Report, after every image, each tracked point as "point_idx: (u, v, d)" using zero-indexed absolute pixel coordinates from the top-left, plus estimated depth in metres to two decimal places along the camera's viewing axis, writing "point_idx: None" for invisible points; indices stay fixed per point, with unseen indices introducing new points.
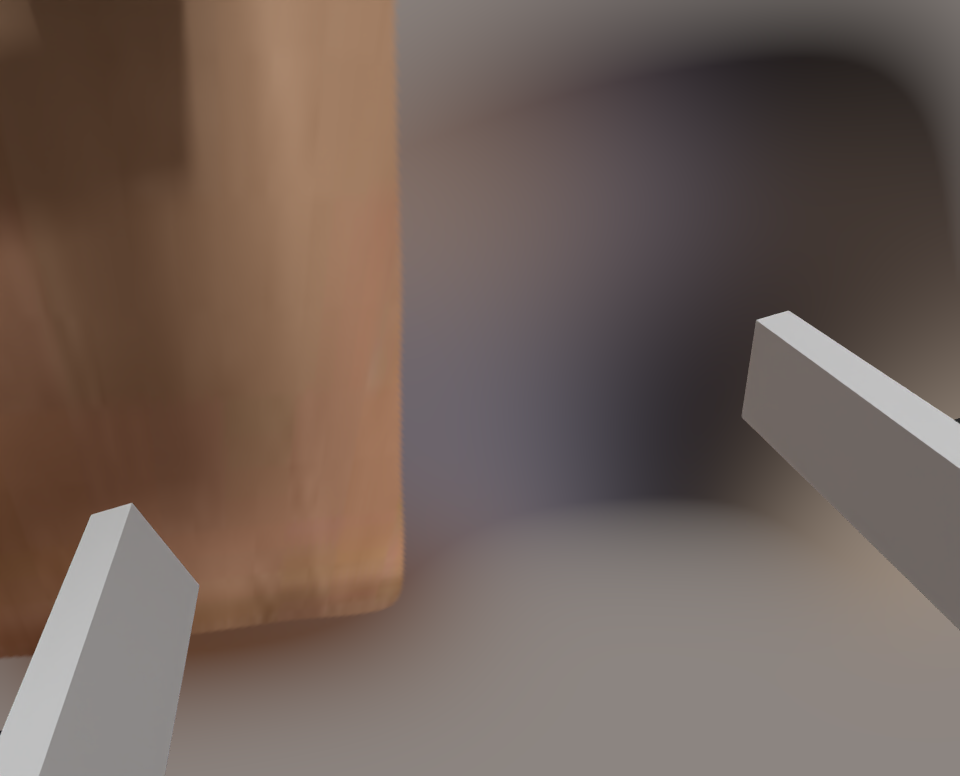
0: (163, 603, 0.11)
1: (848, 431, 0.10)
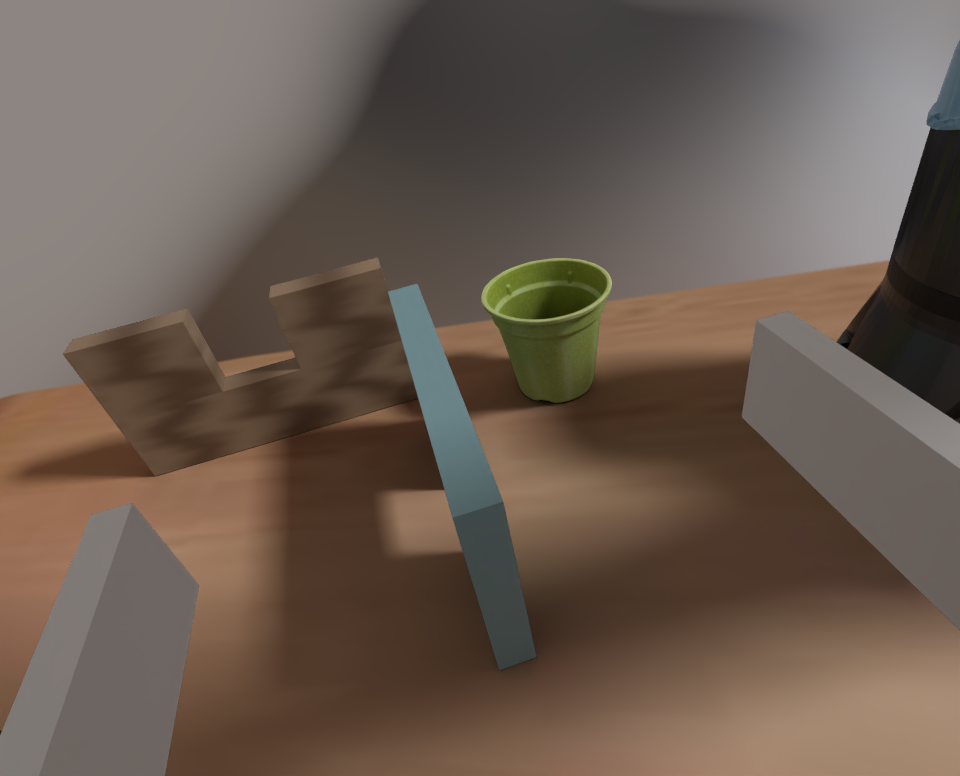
0: (163, 603, 0.11)
1: (849, 431, 0.10)
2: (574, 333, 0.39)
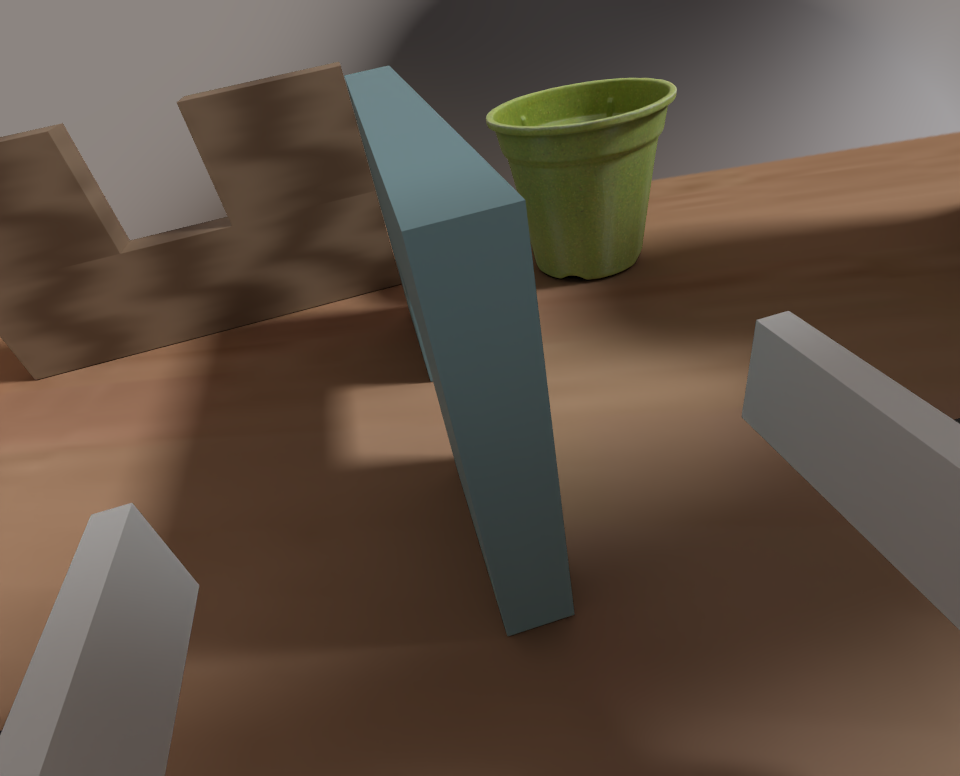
0: (163, 603, 0.11)
1: (849, 431, 0.10)
2: (622, 156, 0.27)
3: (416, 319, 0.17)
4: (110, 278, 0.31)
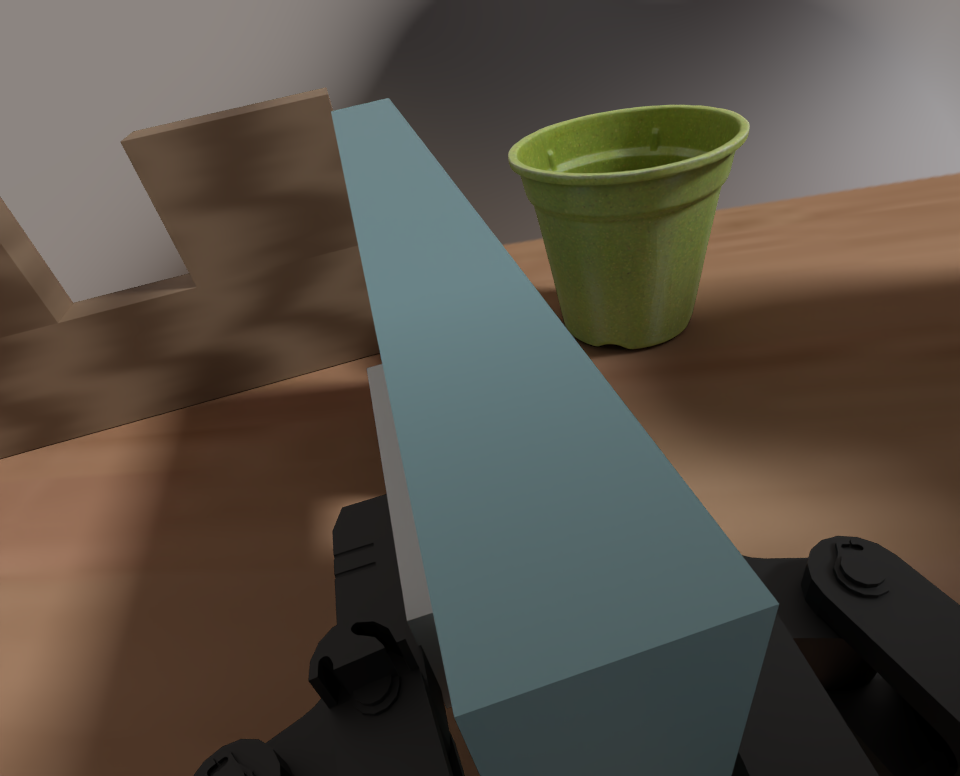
0: None
1: None
2: (682, 209, 0.21)
3: None
4: (47, 351, 0.25)
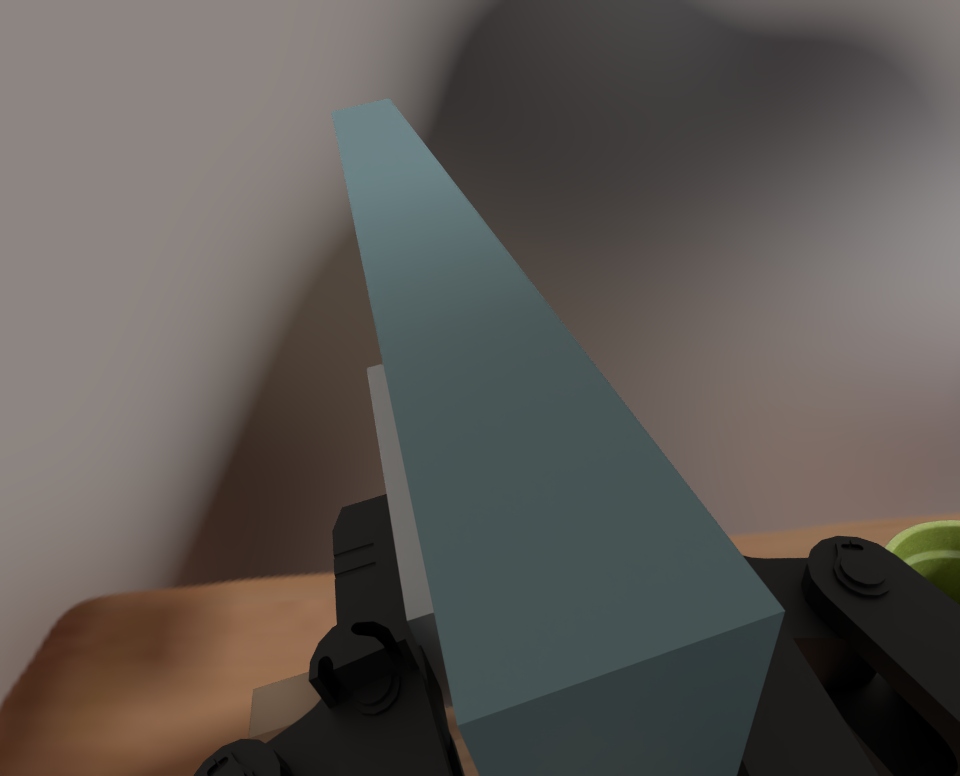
0: None
1: None
2: None
3: None
4: None
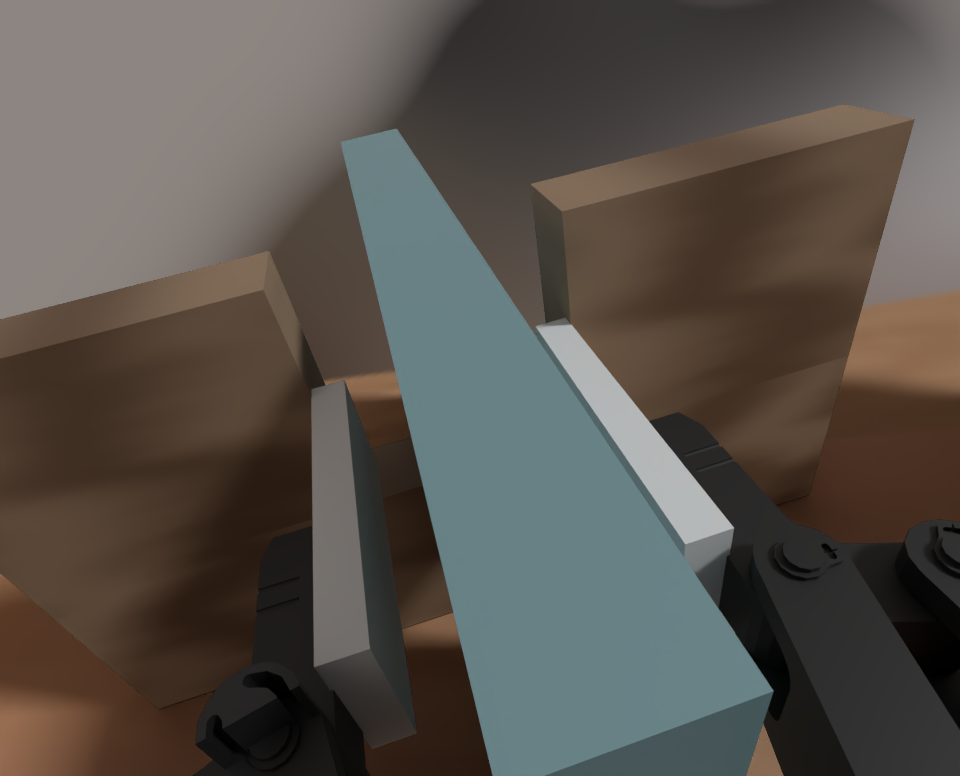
0: (369, 464, 0.13)
1: None
2: None
3: None
4: None
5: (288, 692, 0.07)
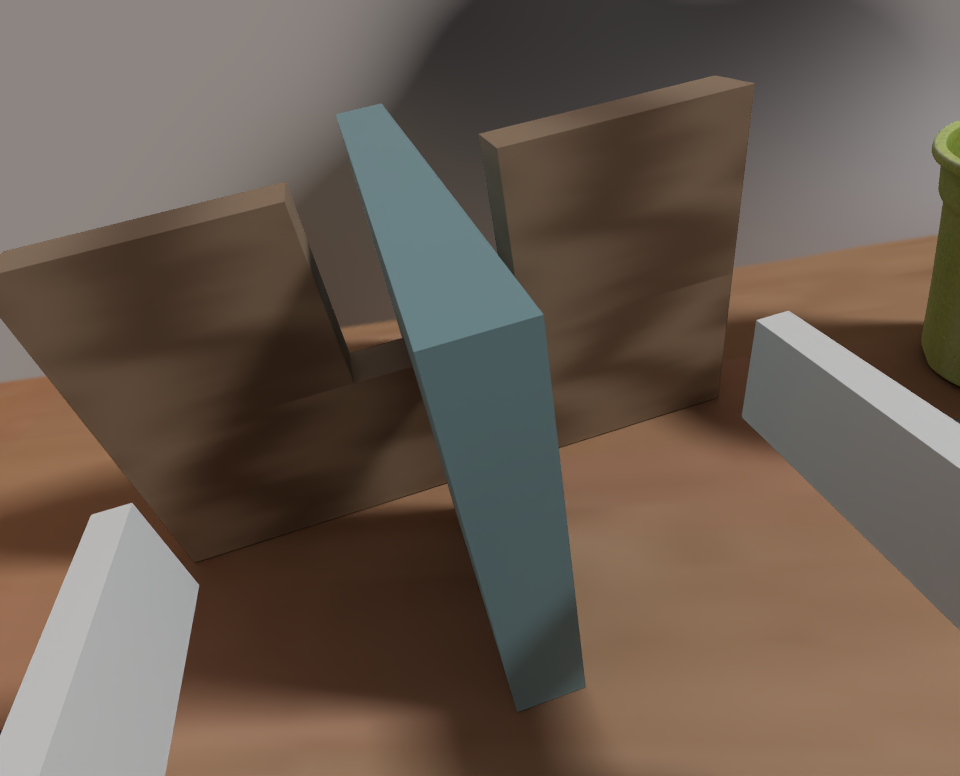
0: (163, 603, 0.11)
1: (849, 431, 0.10)
2: None
3: (417, 381, 0.17)
4: (331, 419, 0.19)
5: None
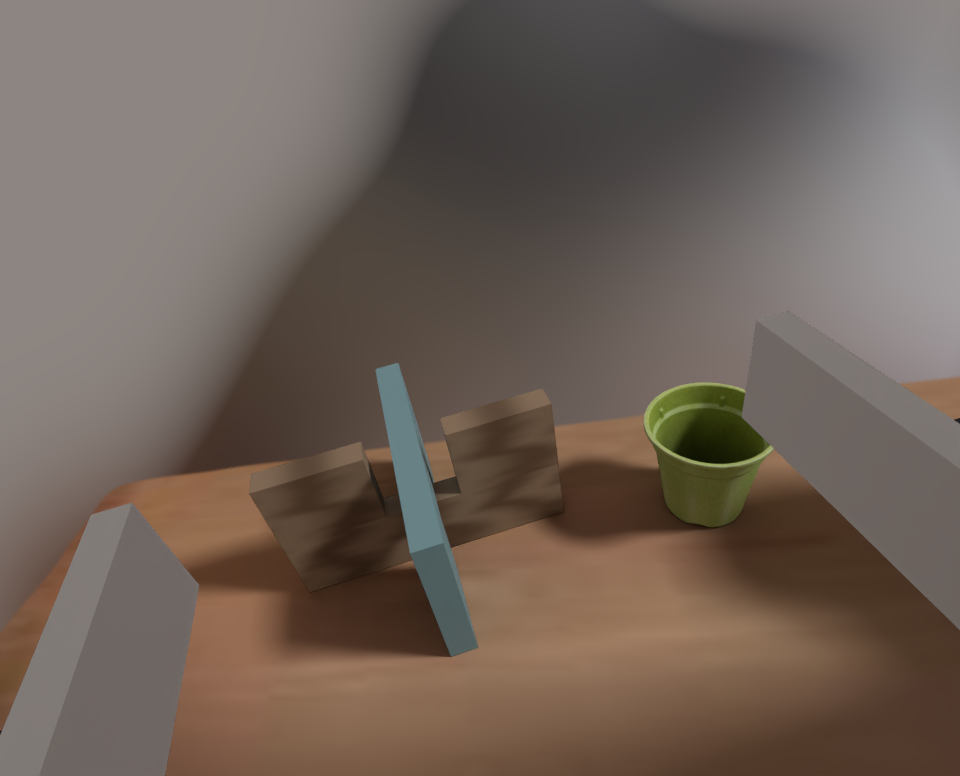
0: (163, 603, 0.11)
1: (848, 430, 0.10)
2: (745, 473, 0.40)
3: None
4: (375, 530, 0.44)
5: None
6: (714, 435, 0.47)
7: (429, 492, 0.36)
